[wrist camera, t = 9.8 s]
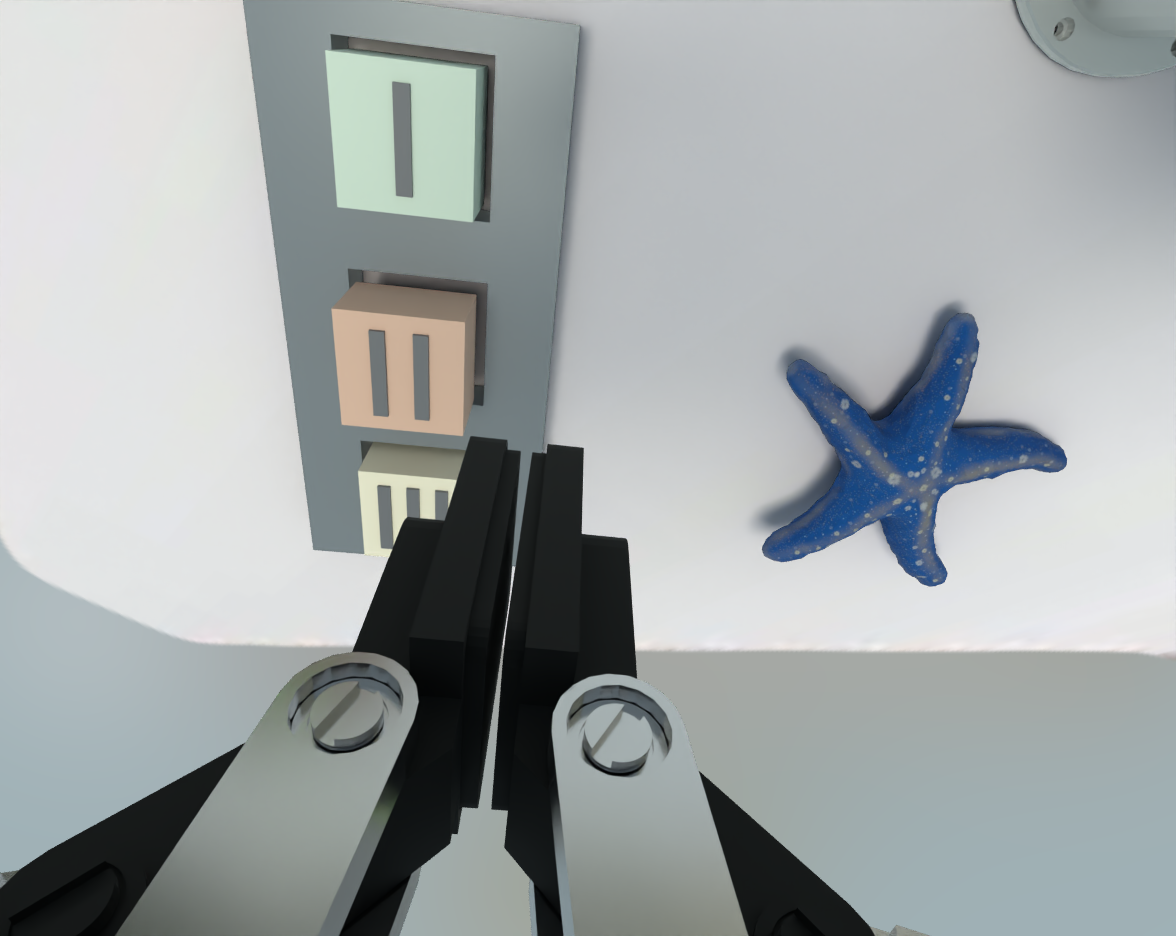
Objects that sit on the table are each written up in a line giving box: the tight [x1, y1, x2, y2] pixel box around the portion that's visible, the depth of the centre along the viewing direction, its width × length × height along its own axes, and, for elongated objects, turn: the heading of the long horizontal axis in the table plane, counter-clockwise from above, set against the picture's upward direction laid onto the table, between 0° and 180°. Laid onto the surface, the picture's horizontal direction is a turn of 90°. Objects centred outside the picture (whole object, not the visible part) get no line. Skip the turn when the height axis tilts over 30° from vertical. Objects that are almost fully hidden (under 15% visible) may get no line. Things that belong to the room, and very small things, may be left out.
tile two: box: [331, 282, 476, 436], centre depth 34 cm, size 6×6×4 cm
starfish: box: [762, 313, 1067, 587], centre depth 41 cm, size 19×19×5 cm
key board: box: [243, 0, 580, 566], centre depth 38 cm, size 14×30×2 cm, turn 174°
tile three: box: [358, 442, 466, 557], centre depth 41 cm, size 6×6×4 cm
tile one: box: [325, 49, 488, 222], centre depth 31 cm, size 6×6×4 cm
